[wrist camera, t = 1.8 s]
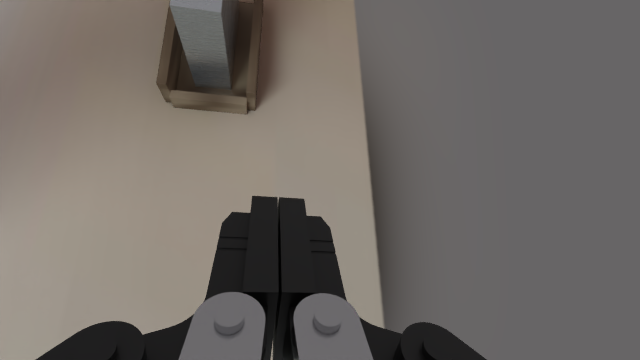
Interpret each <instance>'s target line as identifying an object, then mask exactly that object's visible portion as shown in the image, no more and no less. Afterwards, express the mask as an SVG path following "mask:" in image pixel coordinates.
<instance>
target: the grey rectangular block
mask: <svg viewBox="0 0 640 360" xmlns="http://www.w3.org/2000/svg"><path fill="white" fill-rule="evenodd" d="M170 8H171V11H172V15H173V18H174V21H175V24H176V27H177V30H178V33H179V36H180V39H181V43H182V46H183V49H184V52H185V55H186V58H187V61H188V64H189V67H190V71H191V74H192V77H193V80H194V83H195V86H196V87H206V88H215V89H225V90H231V88H232V77H233V67H234V57H235V46H236V36H237V26H238V15H239V0H170Z"/></svg>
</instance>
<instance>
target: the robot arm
mask: <svg viewBox="0 0 640 360" xmlns="http://www.w3.org/2000/svg"><path fill="white" fill-rule="evenodd" d="M272 341H273V360H486V359H485V358H484V357H482V356H481V355H480V354H478V353H477V352H476V351H474V350H473V349H472V348H470V347H469V346H468V345H467V344H465V343H464V342H463V341H461V340H460V339H458V338H457V337H456V336H455V335H453V334H452V333H450V332H449V331H448V330H446V329H444V328H442V327H440V326H438V325H435V324H432V323H426V322H420V323H415V324H412V325H410V326H409V327H407V328H406V329H405V331H404V332H403V334H400V333H397V332H393V331H390V330H387V329H383V328H380V327H377V326H374V325H372V324H370V323H368V322H366V321H364V320H363V319H361V318H360V317H359V316H358V314H357V312H356V310H355V309H354V308H353V306H352V305H351V304H350V303H348V302H347V300H346V297H345V293H344V288H343V284H342V279H341V275H340V270H339V266H338V261H337V257H336V254H335V248H334V243H333V239H332V234H331V230H330V227H329V226H328V225H327V224H326V222H325V221H324V220H323V219H322V218H321V217H318V216H306V209H305V201H304V199H298V198H282V197H279V202H278V200H277V197H264V196H252V204H251V213H241V212H232V213H231V214H230V215H229V216H228V217H227V218H226V219H225V220H224V221H223V223H222V226H221V230H220V235H219V240H218V244H217V250H216V253H215V258H214V263H213V267H212V272H211V276H210V281H209V285H208V290H207V295H206V298H205V300H204V302H203V303H202V304H201V305H200V306H199V307H198V309H197V310H196V312H195V314H193V315H192V316H191V317H190V318H188V319H187V320H185V321H183V322H182V323H179V324H177V325H175V326H172V327H169V328H166V329H162V330H158V331H155V332H151V333H148V334H144V335H142V333H141V332H140V331H139V330H138V329H137V328H136V327H135V326H133V325H131V324H129V323H126V322H121V321H109V322H103V323H98V324H95V325H92V326H89V327H87V328H85V329H83V330H81V331H79V332H78V333H76V334H74V335H73V336H71V337H70V338H68V339H67V340H65V341H63V342H62V343H60V344H59V345H57V346H56V347H54V348H53V349H51V350H50V351H48V352H47V353H45V354H44V355H42V356H41V357H39V358H37V359H36V360H270V357H271V349H272Z"/></svg>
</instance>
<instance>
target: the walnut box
mask: <svg viewBox="0 0 640 360" xmlns="http://www.w3.org/2000/svg"><path fill="white" fill-rule="evenodd" d="M262 13H263V0H254V4H252V3H245V2H239V15H238V26H237V36H236V46H235V57H234V67H233V77H232V88H231V90H225V89H215V88H206V87H196V86H195V83H194V80H193V77H192V74H191V71H190V67H189V64H188V61H187V58H186V55H185V52H184V49H183V46H182V43H181V39H180V36H179V33H178V30H177V27H176V24H175V21H174V18H173V15H172V11H171V8H170V3H169V9H168V15H167V21H166V27H165V33H164V39H163V46H162V52H161V58H160V64H159V70H158V76H157V82H156V83H157V85H158V87H159V89H160V91H161V93H162V95H163V97H164V99H165V101H166V102H172V104H173V106H174V107H175V108H186V109H196V110H207V111H217V112H228V113H238V114H247V110H254V111H255V106H256V93H257V80H258V66H259V53H260V39H261V26H262Z"/></svg>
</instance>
